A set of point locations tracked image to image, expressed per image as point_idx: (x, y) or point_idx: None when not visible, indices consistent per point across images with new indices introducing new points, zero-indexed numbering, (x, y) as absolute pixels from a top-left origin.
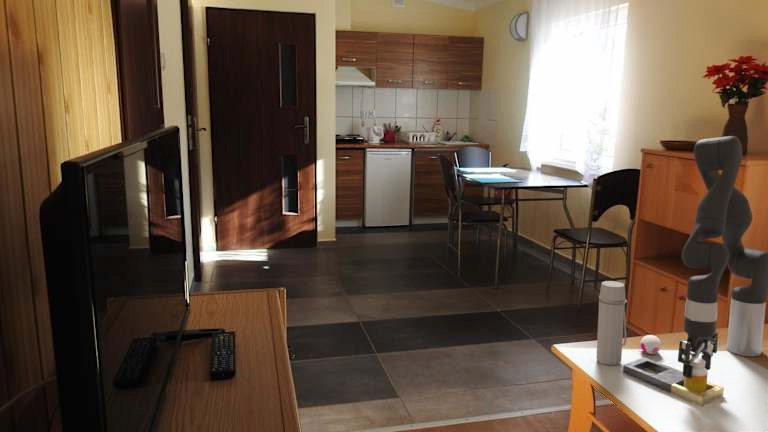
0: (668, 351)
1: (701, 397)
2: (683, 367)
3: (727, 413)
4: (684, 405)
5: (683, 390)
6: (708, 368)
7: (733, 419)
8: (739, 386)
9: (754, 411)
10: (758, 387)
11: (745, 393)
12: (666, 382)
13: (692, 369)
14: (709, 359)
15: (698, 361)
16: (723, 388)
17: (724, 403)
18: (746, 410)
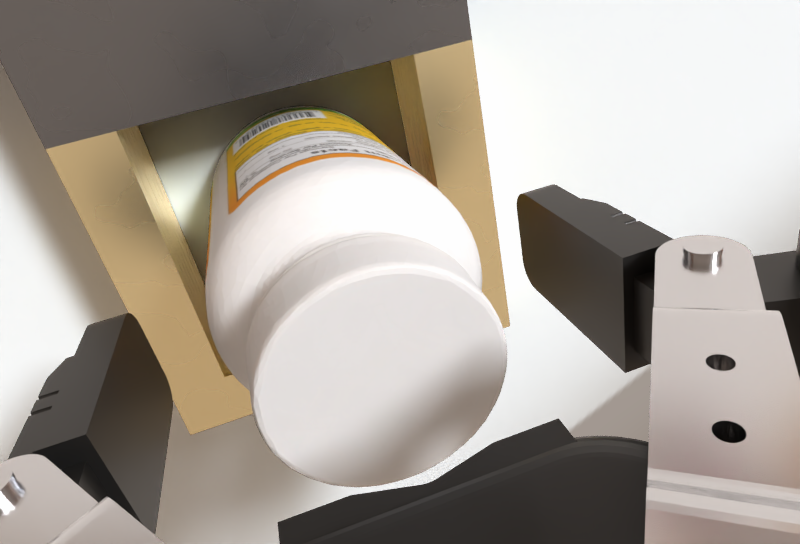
0: None
1: (187, 425)
2: (21, 444)
3: (302, 476)
4: (55, 344)
5: (114, 279)
6: (536, 287)
7: (276, 533)
8: (711, 197)
9: None
10: (785, 243)
11: None
12: (18, 72)
13: (155, 484)
14: (608, 355)
15: (368, 430)
16: (502, 325)
17: None
18: (446, 459)
